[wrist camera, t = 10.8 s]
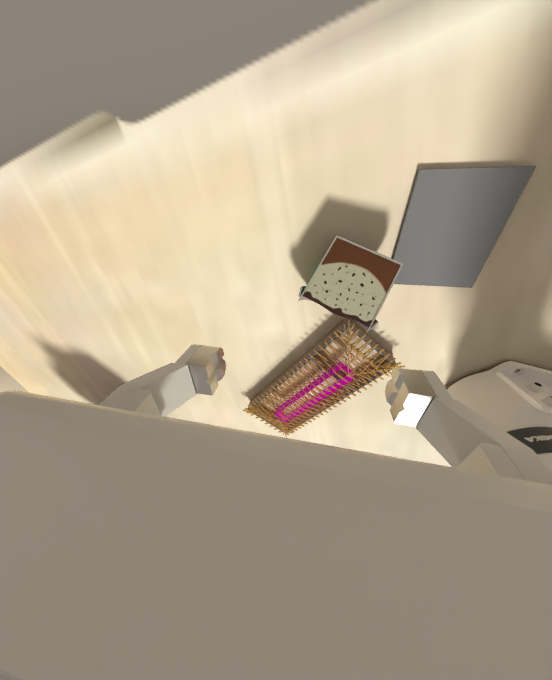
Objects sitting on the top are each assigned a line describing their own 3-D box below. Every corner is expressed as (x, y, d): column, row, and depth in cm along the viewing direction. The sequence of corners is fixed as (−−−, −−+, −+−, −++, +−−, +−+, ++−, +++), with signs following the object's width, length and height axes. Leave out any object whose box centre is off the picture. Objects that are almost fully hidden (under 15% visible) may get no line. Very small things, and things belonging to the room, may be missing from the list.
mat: (531, 167, 24) (535, 166, 23) (469, 286, 31) (471, 287, 31) (418, 170, 25) (420, 169, 25) (385, 282, 33) (386, 283, 33)
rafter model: (346, 310, 37) (351, 327, 32) (399, 355, 40) (410, 376, 35) (246, 399, 56) (239, 419, 51) (287, 425, 59) (285, 446, 54)
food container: (327, 234, 33) (301, 292, 37) (325, 230, 27) (295, 299, 32) (401, 266, 32) (365, 322, 36) (414, 268, 26) (370, 334, 31)
